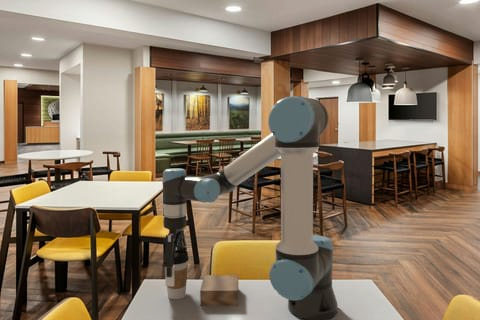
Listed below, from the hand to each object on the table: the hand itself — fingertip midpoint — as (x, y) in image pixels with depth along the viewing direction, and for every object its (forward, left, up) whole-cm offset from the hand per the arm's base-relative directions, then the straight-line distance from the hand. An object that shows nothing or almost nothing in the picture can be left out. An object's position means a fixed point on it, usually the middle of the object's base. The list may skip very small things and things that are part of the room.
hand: (175, 277), depth 127 cm
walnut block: (-14, -5, -6) cm, 16 cm away
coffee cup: (0, 0, -7) cm, 7 cm away
